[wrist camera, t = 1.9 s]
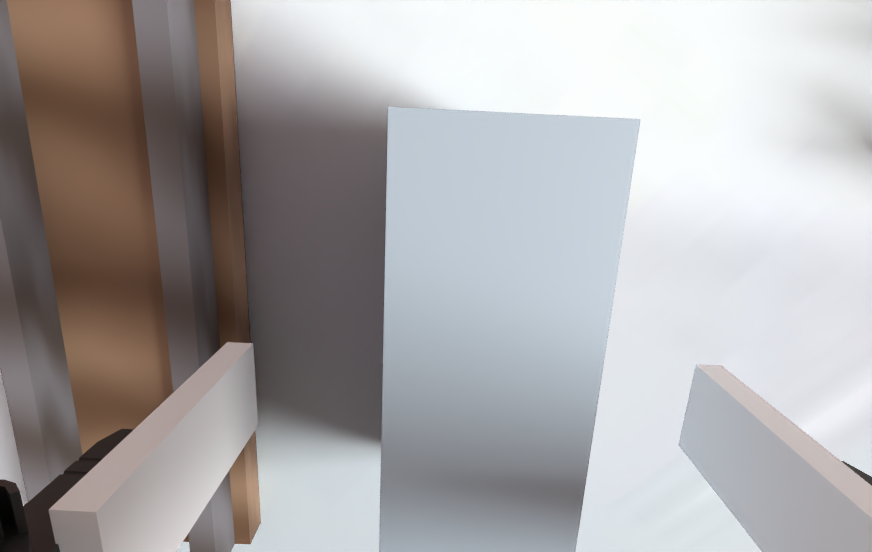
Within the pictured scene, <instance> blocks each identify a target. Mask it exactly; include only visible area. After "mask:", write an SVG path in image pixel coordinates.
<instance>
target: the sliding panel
mask: <svg viewBox="0 0 872 552" xmlns="http://www.w3.org/2000/svg"><path fill="white" fill-rule="evenodd" d="M639 126H640V119H626V118H606V117H586V116H566V115H546V114H526V113H506V112H486V111H466V110H446V109H425V108H405V107H388V138H387V187H386V237H385V287H384V337H383V386H382V436H381V486H380V535H379V552H575V550H576V543H577V537H578V530H579V524H580V517H581V510H582V504H583V497H584V490H585V484H586V477H587V471H588V464H589V457H590V451H591V444H592V437H593V431H594V424H595V418H596V411H597V404H598V398H599V391H600V384H601V378H602V371H603V365H604V358H605V351H606V345H607V338H608V331H609V325H610V318H611V311H612V305H613V298H614V292H615V285H616V278H617V272H618V265H619V258H620V252H621V245H622V239H623V232H624V225H625V219H626V212H627V205H628V199H629V192H630V186H631V179H632V172H633V166H634V159H635V152H636V146H637V139H638V133H639Z"/></svg>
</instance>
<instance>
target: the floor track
mask: <svg viewBox="0 0 872 552" xmlns="http://www.w3.org/2000/svg"><path fill="white" fill-rule="evenodd" d="M227 342H235V343H250V330H249V313H248V296H247V278H246V261H245V244H244V226H243V209H242V192H241V175H240V157H239V140H238V123H237V105H236V88H235V71H234V53H233V36H232V19H231V1H230V0H0V368H1V373H2V377H3V382H4V387H5V392H6V397H7V402H8V406H9V411H10V416H11V421H12V426H13V431H14V435H15V440H16V445H17V450H18V455H19V460H20V464H21V469H22V474H23V479H24V484H25V489H26V493H27V498H28V502H29V501H30V500H31V499H32V498H33V497H35V496H36V495H37V494H38V493H39V492H40V491H42V490H43V489H44V488H45V487H46V486H47V485H48V484H50V483H51V482H52V481H53V480H54V479H55V478H56V477H58V476H59V475H60V474H63V473H64V470H66V469H67V468H68V467H69V466H70V465H71V464H72V463H74V462H75V461H78V460H79V457H80V456H82V455H83V454H84V453H85V452H86V451H87V450H88V449H90V448H91V447H92V446H93V445H94V444H95V443H97V442H98V441H100V440H102V439H103V438H105V437H107V436H109V435H111V434H113V433H115V432H116V431H118V430H120V429H135V428H136V427H137V426H138V425H139V424H140V423H142V422H143V421H144V420H145V419H146V418H147V417H148V416H149V415H150V414H151V413H152V412H153V411H154V410H155V409H156V408H158V407H159V406H160V405H161V404H162V403H163V402H164V401H165V400H166V399H167V398H168V397H169V396H170V395H171V394H172V393H174V392H175V391H176V390H177V389H178V388H179V387H180V386H181V385H182V384H183V383H184V382H185V381H186V380H187V379H188V378H190V377H191V376H192V375H193V374H194V373H195V372H196V371H197V370H198V369H199V368H200V367H201V366H202V365H203V364H204V363H206V362H207V361H208V360H209V359H210V358H211V357H212V356H213V355H214V354H215V353H216V352H217V351H218V350H219V349H221V348H222V347H223V346H224V345H225V344H226V343H227ZM260 523H261V521H260V504H259V486H258V469H257V452H256V434H255V431H254V432H253V434H252V436H251V437H250V439H249V440H248V442H247V443H246V445H245V446H244V448H243V450H242V451H241V453H240V454H239V456H238V457H237V459H236V460H235V462H234V463H233V465H232V467H231V468H230V470H229V471H228V473H227V474H226V476H225V477H224V479H223V480H222V482H221V484H220V485H219V487H218V488H217V490H216V491H215V493H214V494H213V496H212V498H211V499H210V501H209V502H208V504H207V505H206V507H205V508H204V510H203V511H202V513H201V515H200V516H199V518H198V519H197V521H196V522H195V524H194V525H193V527H192V529H191V530H190V532H189V533H188V535H187V536H186V538H185V539H184V542H189V544H190V552H231V550H232V548H233V546H234V544H251V542H252V539H253V537H254V535H255V533H256V531H257V529H258V527H259V525H260Z"/></svg>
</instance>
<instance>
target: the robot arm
mask: <svg viewBox="0 0 872 552" xmlns="http://www.w3.org/2000/svg"><path fill="white" fill-rule="evenodd" d="M257 426H258V412H257V396H256V380H255V364H254V348H253V343H235V342H227V343H226V344H225V345H224V346H223V347H222V348H221V349H219V350H218V351H217V352H216V353H215V354H214V355H213V356H212V357H211V358H210V359H209V360H208V361H207V362H206V363H204V364H203V365H202V366H201V367H200V368H199V369H198V370H197V371H196V372H195V373H194V374H193V375H192V376H191V377H190V378H188V379H187V380H186V381H185V382H184V383H183V384H182V385H181V386H180V387H179V388H178V389H177V390H176V391H175V392H174V393H172V394H171V395H170V396H169V397H168V398H167V399H166V400H165V401H164V402H163V403H162V404H161V405H160V406H159V407H158V408H156V409H155V410H154V411H153V412H152V413H151V414H150V415H149V416H148V417H147V418H146V419H145V420H144V421H143V422H142V423H140V424H139V425H138V426H137V427H136V428H135V429H120V430H118V431H116V432H115V433H113V434H111V435H109V436H107V437H105V438H103V439H102V440H100V441H98V442H97V443H95V444H94V445H93V446H92V447H91V448H90V449H88V450H87V451H86V452H85V453H84V454H83V455H82V456H80V457H79V460H78V461H75V462H74V463H72V464H71V465H70V466H69V467H68V468H67V469H66V470H64V473H63V474H60V475H59V476H58V477H56V478H55V479H54V480H53V481H52V482H51V483H50V484H48V485H47V486H46V487H45V488H44V489H43V490H42V491H40V492H39V493H38V494H37V495H36V496H35V497H33V498H32V499H31V500H30V501H29V502H28V503H27V504H25V505H24V506H23V504H22V500H21V496H20V491H19V489H18V487H17V485H16V483H13V482H10V481H7V480H0V552H177V550H178V549H179V547H180V546H181V544H182V542H183V541H184V539H185V538H186V536H187V535H188V533H189V532H190V530H191V529H192V527H193V525H194V524H195V522H196V521H197V519H198V518H199V516H200V515H201V513H202V511H203V510H204V508H205V507H206V505H207V504H208V502H209V501H210V499H211V498H212V496H213V494H214V493H215V491H216V490H217V488H218V487H219V485H220V484H221V482H222V480H223V479H224V477H225V476H226V474H227V473H228V471H229V470H230V468H231V467H232V465H233V463H234V462H235V460H236V459H237V457H238V456H239V454H240V453H241V451H242V450H243V448H244V446H245V445H246V443H247V442H248V440H249V439H250V437H251V436H252V434H253V432H254V431H255V429H256V428H257ZM679 446H680V447H681V449H682V450H683V451H684V453H685V454H686V455H687V456H688V458H689V459H690V460H691V461H692V463H693V464H694V465H695V467H696V468H697V469H698V470H699V472H700V473H701V474H702V476H703V477H704V478H705V479H706V481H707V482H708V483H709V484H710V486H711V487H712V488H713V490H714V491H715V492H716V493H717V495H718V496H719V497H720V499H721V500H722V501H723V502H724V504H725V505H726V506H727V507H728V509H729V510H730V511H731V513H732V514H733V515H734V516H735V518H736V519H737V520H738V522H739V523H740V524H741V525H742V527H743V528H744V529H745V530H746V532H747V533H748V534H749V536H750V537H751V538H752V539H753V541H754V542H755V543H756V545H757V546H758V547H759V548H760V550H761V551H762V552H872V477H871V476H869V475H867V474H865V473H864V472H862V471H860V470H858V469H856V468H855V467H853V466H851V465H849V464H847V463H845V462H844V461H840V460H839V459H838V458H836V457H835V456H834V455H833V454H831V453H830V452H829V451H828V450H826V449H825V448H824V447H823V446H821V445H820V444H819V443H818V442H816V441H815V440H814V439H813V438H811V437H810V436H809V435H808V434H806V433H805V432H804V431H803V430H801V429H800V428H799V427H798V426H796V425H795V424H794V423H793V422H791V421H790V420H789V419H788V418H786V417H785V416H784V415H783V414H781V413H780V412H779V411H778V410H776V409H775V408H774V407H773V406H771V405H770V404H769V403H768V402H766V401H765V400H764V399H763V398H761V397H760V396H759V395H758V394H756V393H755V392H754V391H753V390H751V389H750V388H749V387H748V386H746V385H745V384H744V383H743V382H741V381H740V380H739V379H738V378H736V377H735V376H734V375H733V374H731V373H730V372H729V371H728V370H726V369H725V368H724V367H723V366H715V365H696V366H695V371H694V376H693V380H692V385H691V390H690V394H689V399H688V403H687V408H686V413H685V417H684V422H683V427H682V431H681V436H680V441H679Z"/></svg>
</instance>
